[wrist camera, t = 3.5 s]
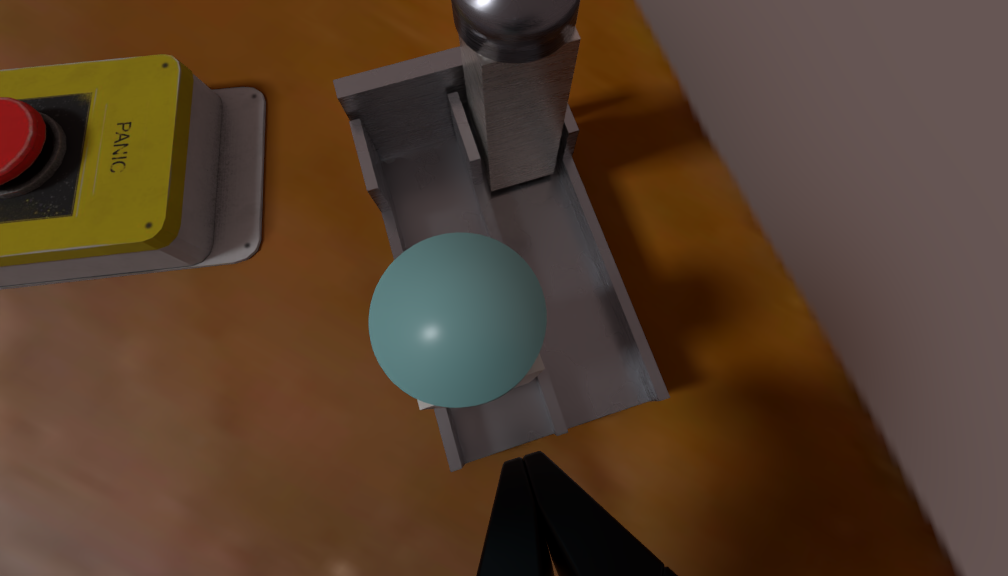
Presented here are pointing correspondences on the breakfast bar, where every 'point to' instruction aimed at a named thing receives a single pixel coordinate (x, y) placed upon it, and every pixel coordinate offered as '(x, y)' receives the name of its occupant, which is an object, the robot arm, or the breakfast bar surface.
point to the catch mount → (506, 206)
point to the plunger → (458, 321)
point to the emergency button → (125, 171)
